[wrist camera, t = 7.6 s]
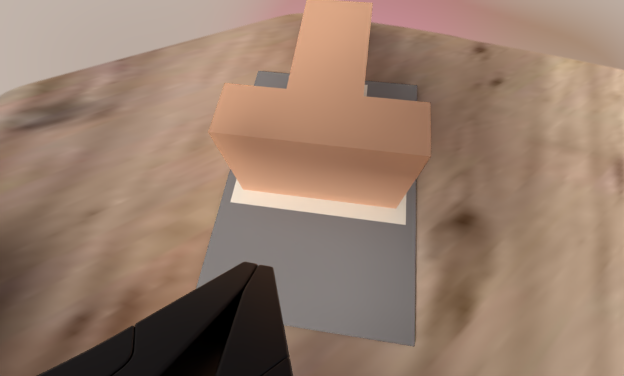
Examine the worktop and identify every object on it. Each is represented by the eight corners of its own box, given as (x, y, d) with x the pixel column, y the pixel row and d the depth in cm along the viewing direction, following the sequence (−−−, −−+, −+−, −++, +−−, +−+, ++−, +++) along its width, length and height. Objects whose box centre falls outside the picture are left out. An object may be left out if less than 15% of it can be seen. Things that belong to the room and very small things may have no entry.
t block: (395, 208, 23) (431, 156, 15) (243, 189, 24) (208, 132, 16) (400, 90, 27) (429, 6, 20) (271, 78, 28) (254, -6, 21)
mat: (412, 345, 19) (414, 346, 19) (192, 309, 21) (189, 309, 20) (415, 88, 28) (417, 85, 27) (259, 74, 29) (258, 70, 29)
